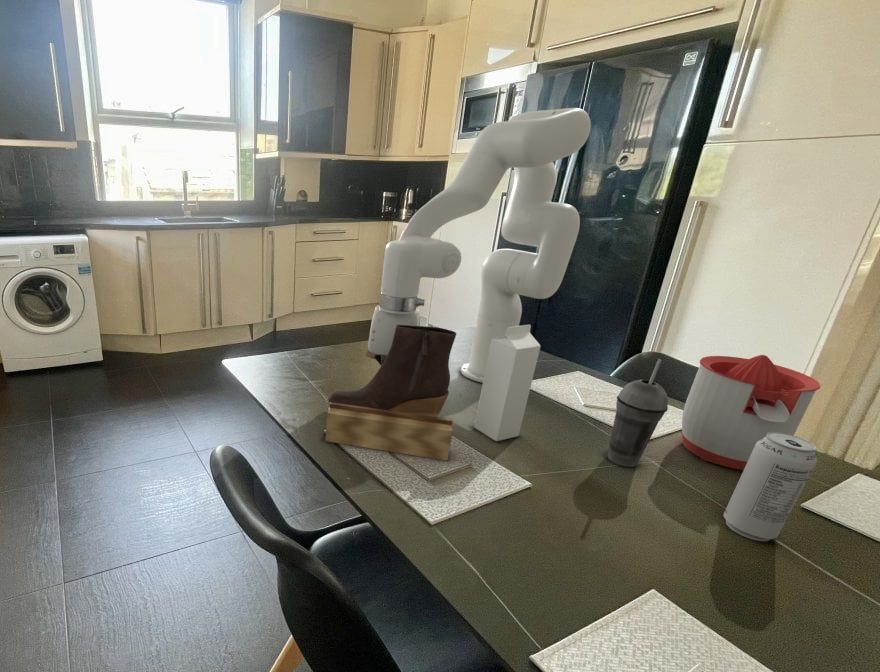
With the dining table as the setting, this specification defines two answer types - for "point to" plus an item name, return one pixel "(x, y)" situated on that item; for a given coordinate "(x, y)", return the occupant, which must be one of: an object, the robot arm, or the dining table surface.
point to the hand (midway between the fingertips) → (387, 383)
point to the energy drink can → (770, 485)
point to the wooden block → (389, 430)
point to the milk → (507, 383)
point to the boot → (408, 374)
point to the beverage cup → (636, 419)
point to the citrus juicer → (742, 406)
